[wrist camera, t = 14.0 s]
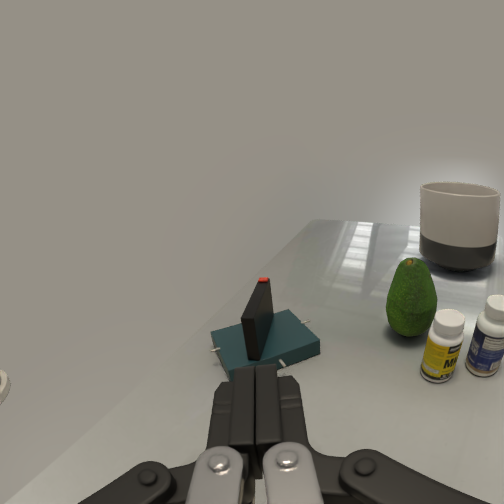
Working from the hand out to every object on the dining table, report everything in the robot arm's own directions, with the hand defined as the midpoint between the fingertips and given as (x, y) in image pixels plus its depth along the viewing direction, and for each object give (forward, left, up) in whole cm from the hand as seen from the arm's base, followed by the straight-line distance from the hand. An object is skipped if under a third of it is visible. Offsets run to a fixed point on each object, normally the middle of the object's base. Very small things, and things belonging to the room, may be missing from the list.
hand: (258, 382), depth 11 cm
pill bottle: (+31, +4, -20) cm, 37 cm away
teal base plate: (+8, +26, -19) cm, 34 cm away
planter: (+57, +28, -20) cm, 67 cm away
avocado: (+28, +17, -20) cm, 39 cm away
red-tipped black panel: (+8, +26, -17) cm, 32 cm away
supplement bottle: (+25, +8, -20) cm, 33 cm away
